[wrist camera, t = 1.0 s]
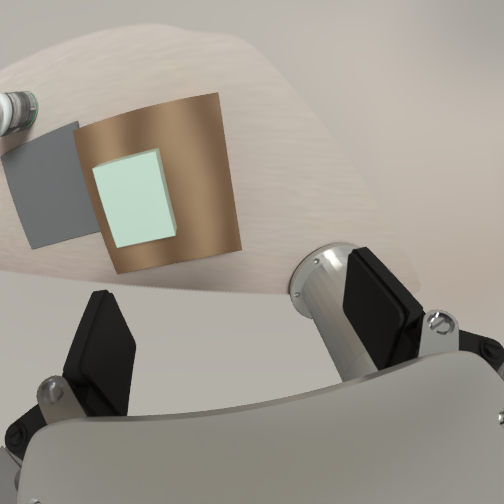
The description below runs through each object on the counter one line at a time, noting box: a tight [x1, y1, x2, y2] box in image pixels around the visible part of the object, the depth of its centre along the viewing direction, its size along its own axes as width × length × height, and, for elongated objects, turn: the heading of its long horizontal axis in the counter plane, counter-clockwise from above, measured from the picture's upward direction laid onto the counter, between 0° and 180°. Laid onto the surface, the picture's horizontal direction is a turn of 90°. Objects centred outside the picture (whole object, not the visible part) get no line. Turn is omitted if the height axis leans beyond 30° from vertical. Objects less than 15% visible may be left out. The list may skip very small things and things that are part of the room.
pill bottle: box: [0, 91, 38, 137], centre depth 18 cm, size 5×5×8 cm
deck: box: [73, 93, 242, 274], centre depth 27 cm, size 14×16×4 cm
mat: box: [1, 121, 101, 249], centre depth 26 cm, size 12×13×1 cm
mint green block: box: [92, 148, 177, 248], centre depth 25 cm, size 6×8×2 cm
